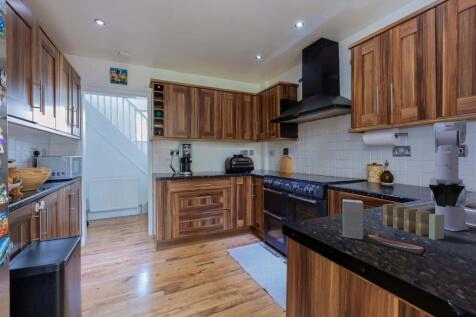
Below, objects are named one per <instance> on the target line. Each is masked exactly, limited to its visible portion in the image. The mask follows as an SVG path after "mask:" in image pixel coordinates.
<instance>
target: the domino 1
mask: <svg viewBox="0 0 476 317" xmlns="http://www.w3.org/2000/svg"><path fill="white" fill-rule="evenodd" d="M395 206H397V205H396V204H394V203H387V204H386V203H385V204H382V225H383V226H389V227H390V226H393V207H395Z"/></svg>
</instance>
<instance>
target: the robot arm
mask: <svg viewBox="0 0 476 317" xmlns="http://www.w3.org/2000/svg"><path fill="white" fill-rule="evenodd" d="M466 135H467V121H466V120H465V119H464V120H463V119H462V120H459V121H458V120H457V121H444V122H443V121H441V122H435V123H434V124H433V147H434V152H435V171H434V173H435V176H434V177H432V178H429V184H428V188H429V189H430V200H431V201H432V203H434V204H435V205H434V206H435V208H434V212H435V213H441V214H444V230H447V231H451V232H459V231H460V232H461V231H465V230H469V227H467V226H466V224H467V212H466V209H465V208H464V207H463V206H465V205H466V204H467V189H466V187H467V186H466V185H465V183H464V182H463V181H464V178H463V179H462V178H459V170H460V169H459V162H460V161H459V160H460V159H459V158H460V154H459V152H460V148H461V145H462V144H465V143H466V142H465V141H466V140H467V139H466V138H467V136H466ZM435 213H434V214H435Z"/></svg>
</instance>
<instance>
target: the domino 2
mask: <svg viewBox="0 0 476 317" xmlns="http://www.w3.org/2000/svg"><path fill="white" fill-rule="evenodd" d="M404 209H407V206H405V205H398V206H397V205H396V206H395V207H393V225H392V229H396V230H398V229H404Z"/></svg>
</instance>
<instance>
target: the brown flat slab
mask: <svg viewBox="0 0 476 317" xmlns="http://www.w3.org/2000/svg"><path fill="white" fill-rule="evenodd" d="M361 240H362V242H365V243H366V242H367V243H369V244H370V243H371V244H374V245H378V246H380V247H384V248H388V249H393V250H396V251H399V252H404V253H407V254H411V255H415V256H422V254H424V252H425V250H426V249H425V247H422V246H419V245H415V244H412V243H411V244H410V243H406V242H404V241H398V240H393V239H390V238H386V237H381V236H377V235H373V234H367V235H366V236H363V239H361Z"/></svg>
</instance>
